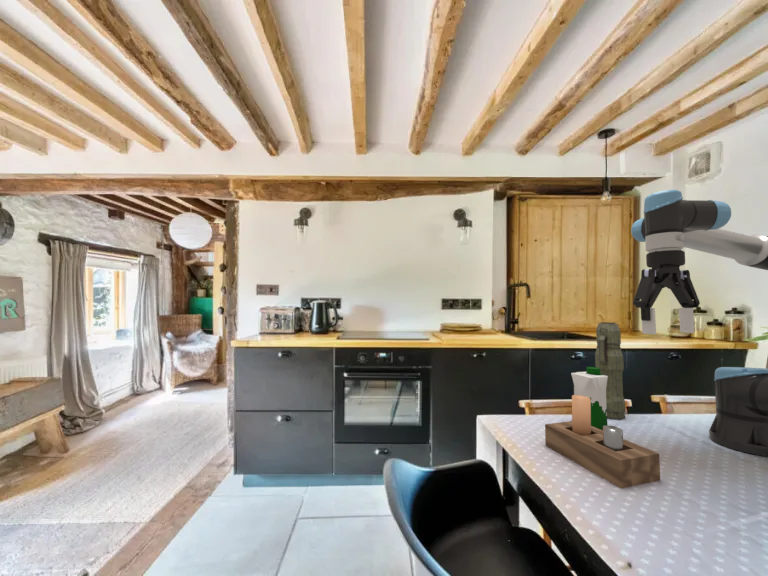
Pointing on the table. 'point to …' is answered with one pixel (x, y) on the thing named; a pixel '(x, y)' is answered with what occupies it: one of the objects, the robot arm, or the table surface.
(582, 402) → the peg
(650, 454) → the hole block
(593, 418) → the milk carton
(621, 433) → the steel pin
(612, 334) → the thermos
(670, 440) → the table surface
